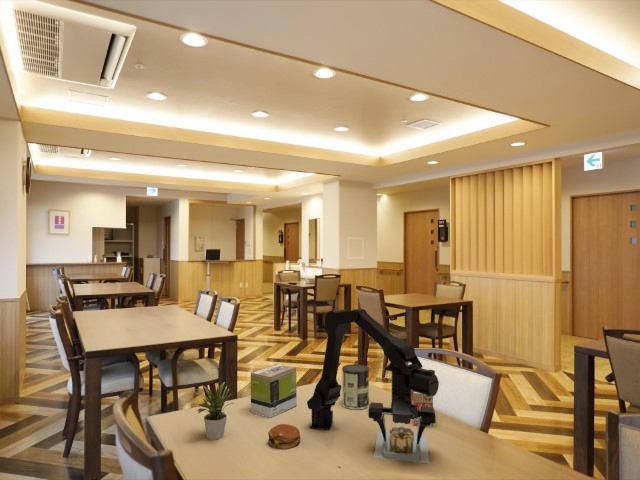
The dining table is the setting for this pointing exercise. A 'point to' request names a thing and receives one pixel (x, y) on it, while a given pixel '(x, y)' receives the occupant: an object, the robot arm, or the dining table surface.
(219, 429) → the house plant
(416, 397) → the stack of blocks
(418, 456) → the gear board
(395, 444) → the brass gear
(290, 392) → the tea box
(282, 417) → the dining table surface
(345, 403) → the coffee can
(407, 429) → the gear
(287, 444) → the burger
